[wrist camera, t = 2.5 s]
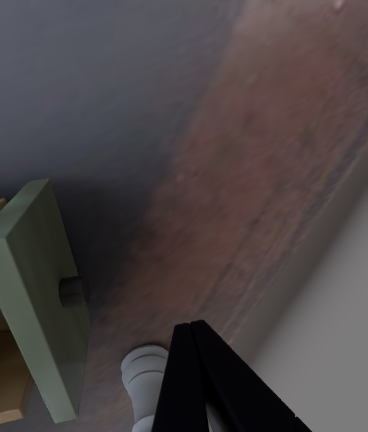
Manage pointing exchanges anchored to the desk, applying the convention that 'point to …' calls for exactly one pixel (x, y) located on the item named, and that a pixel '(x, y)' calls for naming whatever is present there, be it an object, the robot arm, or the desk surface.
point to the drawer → (40, 307)
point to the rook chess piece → (144, 382)
